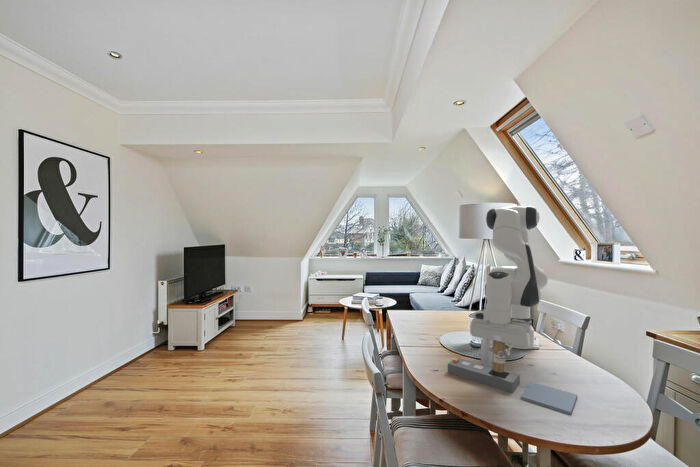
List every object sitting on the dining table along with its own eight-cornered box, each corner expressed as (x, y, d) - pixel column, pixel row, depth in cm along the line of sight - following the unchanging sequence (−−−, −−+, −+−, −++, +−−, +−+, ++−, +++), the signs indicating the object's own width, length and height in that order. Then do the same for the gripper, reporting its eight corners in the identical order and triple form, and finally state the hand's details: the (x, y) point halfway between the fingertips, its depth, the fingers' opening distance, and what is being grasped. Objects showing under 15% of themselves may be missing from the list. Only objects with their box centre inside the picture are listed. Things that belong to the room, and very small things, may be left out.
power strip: (457, 365, 132) (457, 355, 132) (519, 383, 116) (519, 371, 116) (447, 372, 125) (447, 361, 125) (512, 392, 109) (512, 380, 109)
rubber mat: (530, 383, 116) (530, 381, 116) (577, 397, 106) (577, 394, 106) (520, 398, 105) (520, 396, 105) (570, 414, 96) (570, 412, 96)
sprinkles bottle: (496, 373, 114) (498, 336, 114) (489, 368, 118) (490, 332, 118) (507, 372, 115) (509, 336, 115) (499, 367, 119) (500, 332, 119)
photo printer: (493, 359, 138) (493, 331, 138) (502, 362, 135) (502, 333, 135) (479, 364, 133) (479, 335, 133) (488, 368, 129) (488, 338, 129)
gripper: (532, 319, 112) (532, 357, 112) (474, 309, 126) (474, 344, 126) (527, 323, 107) (527, 363, 107) (468, 312, 121) (468, 348, 121)
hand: (498, 352), depth 117 cm, fingers closed on sprinkles bottle, 4 cm apart
